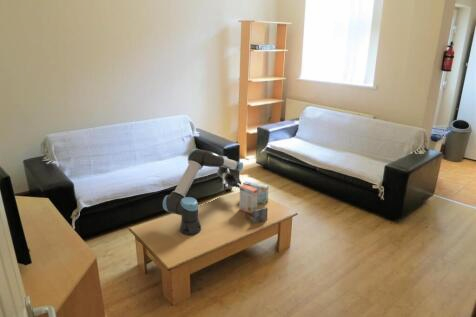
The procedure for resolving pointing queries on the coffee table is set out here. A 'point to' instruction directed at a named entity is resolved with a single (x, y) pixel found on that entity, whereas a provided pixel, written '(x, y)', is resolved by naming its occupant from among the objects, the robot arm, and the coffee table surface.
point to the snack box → (259, 191)
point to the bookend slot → (257, 215)
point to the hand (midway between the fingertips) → (241, 187)
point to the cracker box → (248, 199)
